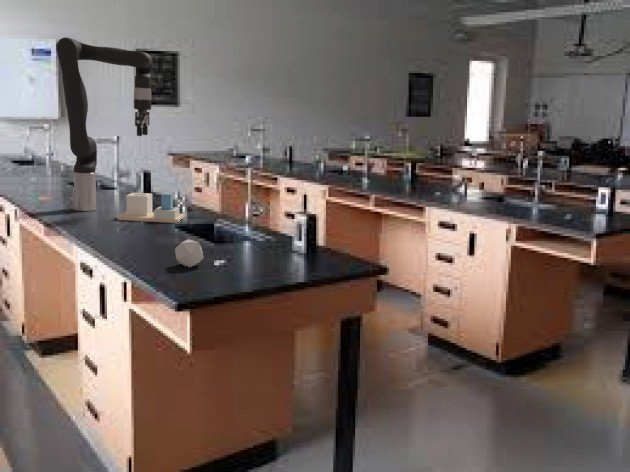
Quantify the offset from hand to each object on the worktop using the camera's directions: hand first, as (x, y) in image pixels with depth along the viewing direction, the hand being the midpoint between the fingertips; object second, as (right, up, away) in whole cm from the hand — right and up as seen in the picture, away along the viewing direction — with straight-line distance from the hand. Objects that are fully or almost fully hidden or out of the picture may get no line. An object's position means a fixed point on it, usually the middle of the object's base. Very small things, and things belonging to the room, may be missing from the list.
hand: (142, 135), depth 287 cm
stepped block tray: (+6, -38, -8) cm, 39 cm away
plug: (+14, -37, -10) cm, 40 cm away
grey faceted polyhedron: (+37, -55, -82) cm, 106 cm away
